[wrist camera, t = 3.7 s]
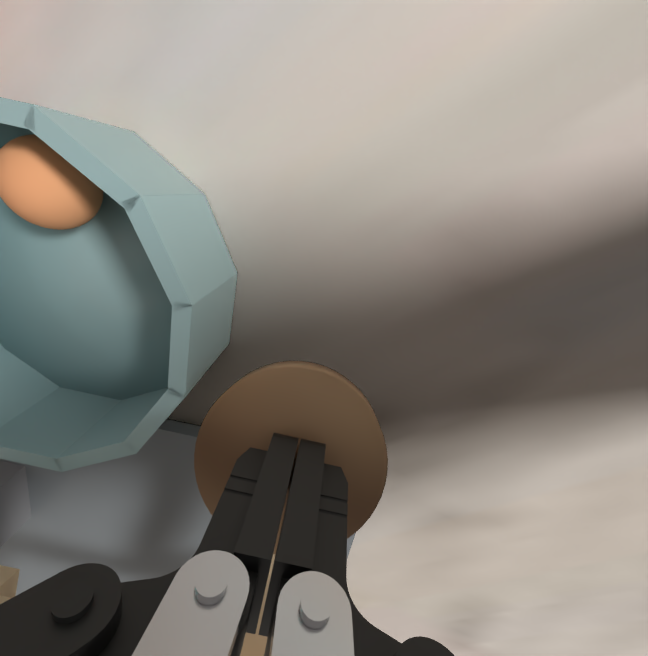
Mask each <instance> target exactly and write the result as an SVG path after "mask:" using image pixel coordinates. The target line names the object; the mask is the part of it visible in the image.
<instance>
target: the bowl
mask: <svg viewBox="0 0 648 656" xmlns="http://www.w3.org/2000/svg"><path fill="white" fill-rule="evenodd" d="M31 134H35V135H36V136H38V137H39V138H40V139H41V140H42V141H44V142H45V143H46V144H47V145H48V146H50V147H51V148H52V149H53V150H54V151H56V152H57V153H58V154H59V155H61V156H62V157H63V158H64V159H65V160H67V161H68V162H69V163H70V164H71V165H73V166H74V167H75V168H76V169H77V170H79V171H80V172H81V173H82V174H83V175H85V176H86V177H87V178H88V179H89V180H91V181H92V182H93V183H94V184H96V185H97V186H98V187H99V188H100V189H102V190H103V201H102V205H101V207H100V209H99V211H98V212H97V214H96V215H95V216H94V217H93V218H92V219H91V220H90V221H88V222H87V223H85V224H83V225H81V226H79V227H76V228H72V229H64V230H57V229H49V228H44V227H40V226H38V225H35V224H32V223H30V222H28V221H26V220H24V219H23V218H21V217H20V216H18V215H17V214H16V213H15V212H13V211H12V210H11V209H10V208H9V207H8V206H7V205H6V204H5V202H4V201H3V200H2V198H1V197H0V459H4V460H9V461H13V462H18V463H23V464H27V465H32V466H37V467H41V468H46V469H50V470H55V471H60V472H64V471H68V470H72V469H76V468H80V467H84V466H88V465H92V464H96V463H100V462H105V461H109V460H113V459H117V458H121V457H125V456H129V455H133V454H136V453H137V452H138V451H139V450H140V449H141V447H142V446H143V445H144V444H145V443H146V442H147V441H148V439H149V438H150V437H151V436H152V435H153V434H154V433H155V431H156V430H157V429H158V428H159V427H160V426H161V424H162V423H163V422H164V421H165V420H166V419H167V418H168V416H169V415H170V414H171V413H172V412H173V411H174V410H175V408H176V407H177V406H178V405H179V404H180V403H181V402H182V400H183V399H184V398H185V397H186V396H187V395H188V394H189V392H190V391H191V390H192V389H193V387H194V386H195V385H196V384H197V382H198V381H199V380H200V379H201V378H202V376H203V375H204V374H205V373H206V371H207V370H208V369H209V368H210V366H211V365H212V364H213V363H214V362H215V360H216V359H217V358H218V357H219V355H220V354H221V353H222V352H223V350H224V349H225V348H226V347H227V346H228V344H229V341H230V333H231V324H232V316H233V307H234V299H235V290H236V282H237V274H238V273H237V271H236V268H235V266H234V263H233V261H232V258H231V256H230V254H229V251H228V249H227V246H226V244H225V242H224V239H223V237H222V234H221V232H220V229H219V227H218V225H217V222H216V220H215V217H214V215H213V212H212V210H211V208H210V205H209V203H208V200H207V198H206V196H205V194H204V193H203V192H202V191H201V190H200V189H199V188H197V187H196V186H195V185H194V184H193V183H192V182H191V181H189V180H188V179H187V178H186V177H185V176H184V175H183V174H182V173H180V172H179V171H178V170H177V169H176V168H175V167H174V166H172V165H171V164H170V163H169V162H168V161H167V160H166V159H164V158H163V157H162V156H161V155H160V154H159V153H158V152H156V151H155V150H154V149H153V148H152V147H151V146H150V145H149V144H147V143H146V142H145V141H144V140H143V139H142V138H141V137H139V136H138V135H137V134H136V133H135V132H133V131H130V130H126V129H122V128H119V127H115V126H111V125H108V124H104V123H100V122H97V121H93V120H89V119H86V118H82V117H78V116H75V115H71V114H67V113H64V112H60V111H56V110H53V109H49V108H45V107H42V106H38V105H34V104H29V103H24V102H20V101H15V100H10V99H6V98H1V97H0V149H1V148H2V147H3V146H4V145H5V144H6V143H8V142H9V141H10V140H12V139H15V138H17V137H20V136H24V135H31Z"/></svg>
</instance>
